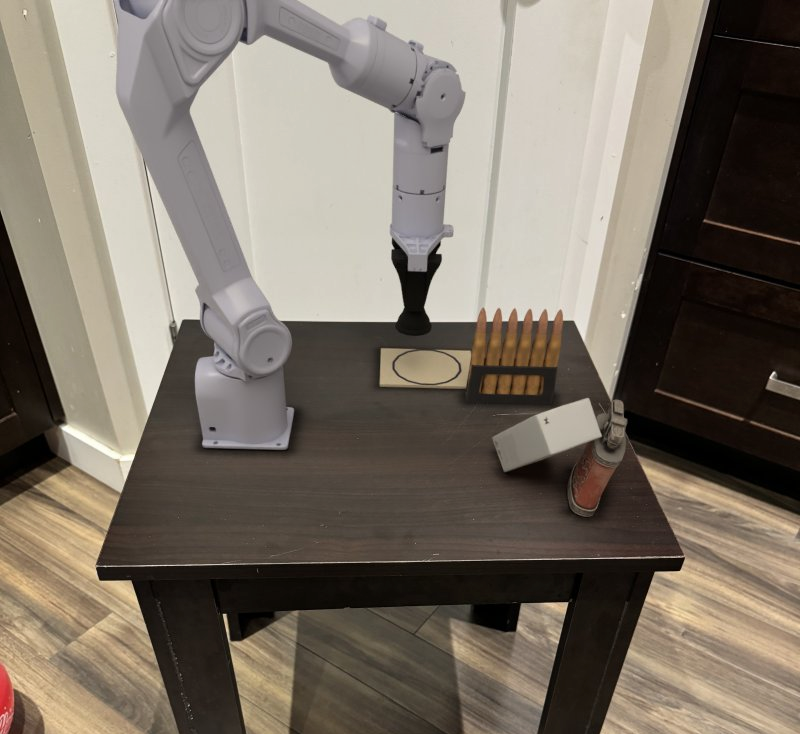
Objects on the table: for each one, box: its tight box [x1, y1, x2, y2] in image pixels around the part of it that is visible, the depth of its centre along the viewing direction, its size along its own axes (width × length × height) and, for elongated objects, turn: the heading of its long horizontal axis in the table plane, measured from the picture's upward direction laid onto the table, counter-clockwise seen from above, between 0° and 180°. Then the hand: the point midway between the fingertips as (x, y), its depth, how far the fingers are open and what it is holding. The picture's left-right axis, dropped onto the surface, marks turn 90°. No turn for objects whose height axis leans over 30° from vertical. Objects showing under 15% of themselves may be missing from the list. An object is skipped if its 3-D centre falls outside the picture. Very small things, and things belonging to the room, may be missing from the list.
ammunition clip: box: [464, 307, 564, 405], centre depth 91 cm, size 11×2×12 cm, turn 91°
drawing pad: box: [379, 347, 472, 390], centre depth 99 cm, size 12×9×1 cm
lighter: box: [567, 399, 628, 518], centre depth 78 cm, size 8×3×10 cm, turn 168°
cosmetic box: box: [491, 397, 602, 473], centre depth 79 cm, size 6×4×12 cm
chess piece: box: [394, 307, 433, 337], centre depth 90 cm, size 4×4×10 cm
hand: (413, 304), depth 91 cm, fingers closed on chess piece, 2 cm apart
